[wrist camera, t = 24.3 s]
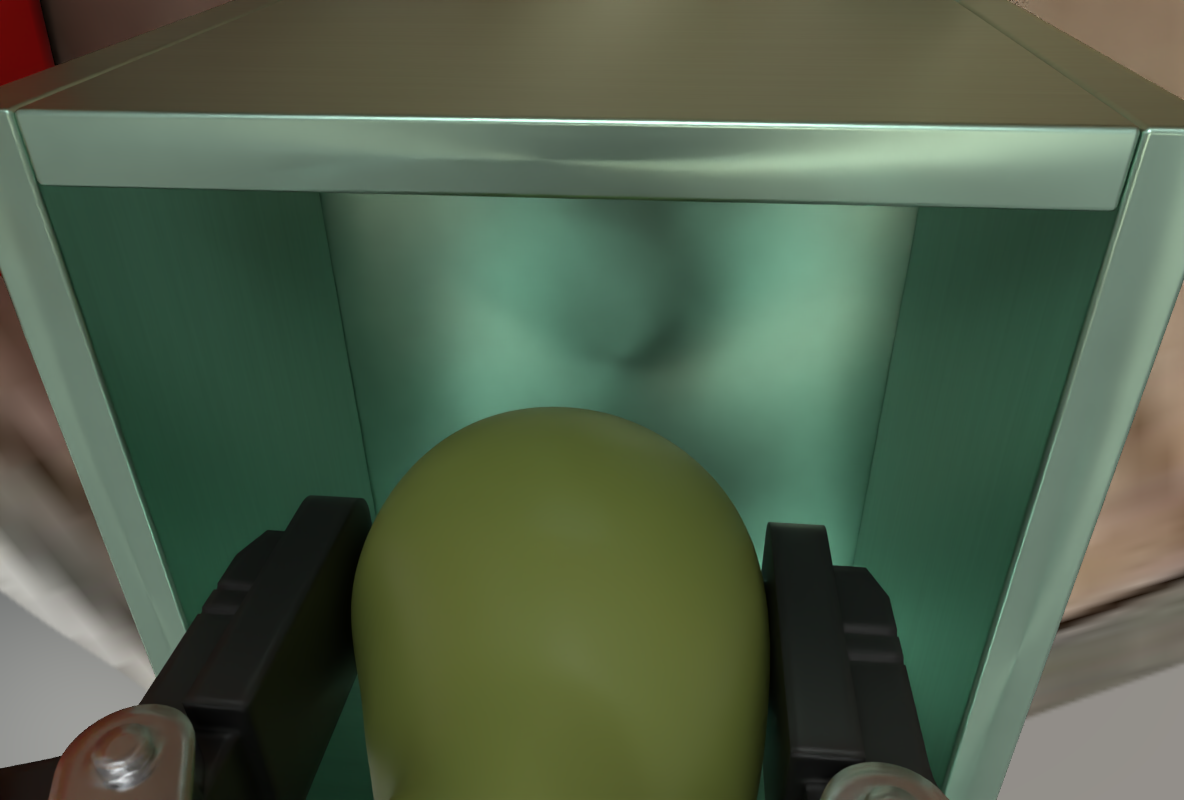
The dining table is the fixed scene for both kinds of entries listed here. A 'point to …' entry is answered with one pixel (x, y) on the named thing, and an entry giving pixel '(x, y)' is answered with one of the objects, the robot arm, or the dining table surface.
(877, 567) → the box
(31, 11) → the french fries container
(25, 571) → the dining table surface
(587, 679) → the pear
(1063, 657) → the dining table surface
